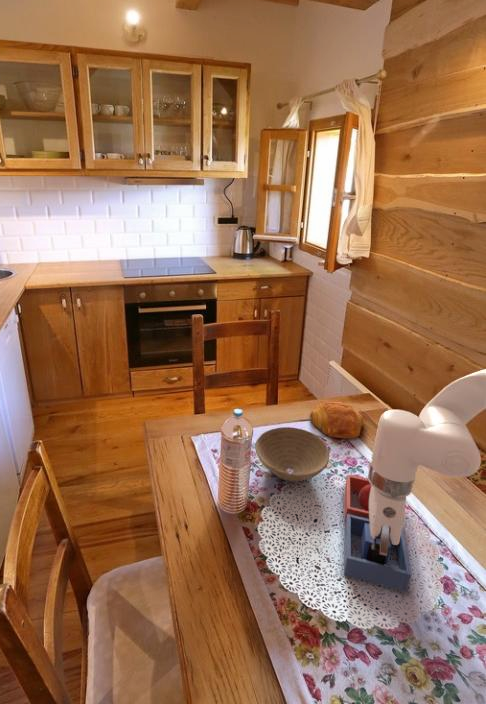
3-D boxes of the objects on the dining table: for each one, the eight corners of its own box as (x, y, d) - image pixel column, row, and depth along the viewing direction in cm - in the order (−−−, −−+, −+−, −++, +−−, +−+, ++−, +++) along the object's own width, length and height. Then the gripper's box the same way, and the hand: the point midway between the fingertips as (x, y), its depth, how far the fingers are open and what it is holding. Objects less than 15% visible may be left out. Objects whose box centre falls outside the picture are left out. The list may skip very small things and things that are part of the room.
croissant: (309, 417, 131) (308, 395, 129) (359, 417, 129) (359, 394, 126) (313, 444, 118) (312, 420, 115) (369, 444, 115) (369, 419, 113)
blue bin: (398, 546, 84) (403, 527, 82) (405, 595, 74) (411, 575, 72) (343, 532, 87) (347, 513, 85) (343, 577, 77) (347, 557, 75)
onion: (387, 523, 89) (394, 494, 86) (361, 522, 89) (367, 493, 86) (378, 502, 94) (384, 474, 91) (353, 501, 94) (358, 473, 91)
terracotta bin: (392, 502, 95) (396, 485, 93) (398, 540, 85) (402, 521, 84) (344, 491, 98) (347, 474, 96) (343, 526, 88) (347, 508, 86)
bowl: (238, 473, 103) (239, 446, 100) (279, 441, 116) (282, 417, 113) (301, 513, 91) (304, 485, 88) (339, 473, 104) (344, 447, 101)
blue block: (384, 545, 81) (388, 528, 79) (386, 565, 77) (391, 547, 75) (361, 539, 82) (364, 522, 81) (361, 558, 78) (365, 540, 77)
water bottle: (232, 490, 97) (237, 398, 89) (253, 506, 93) (261, 411, 84) (211, 504, 93) (214, 410, 84) (233, 522, 88) (239, 424, 80)
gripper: (421, 516, 65) (399, 597, 71) (407, 452, 80) (390, 523, 86) (371, 504, 67) (354, 584, 73) (367, 444, 82) (353, 514, 88)
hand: (374, 550), depth 79 cm, fingers closed on blue block, 4 cm apart
